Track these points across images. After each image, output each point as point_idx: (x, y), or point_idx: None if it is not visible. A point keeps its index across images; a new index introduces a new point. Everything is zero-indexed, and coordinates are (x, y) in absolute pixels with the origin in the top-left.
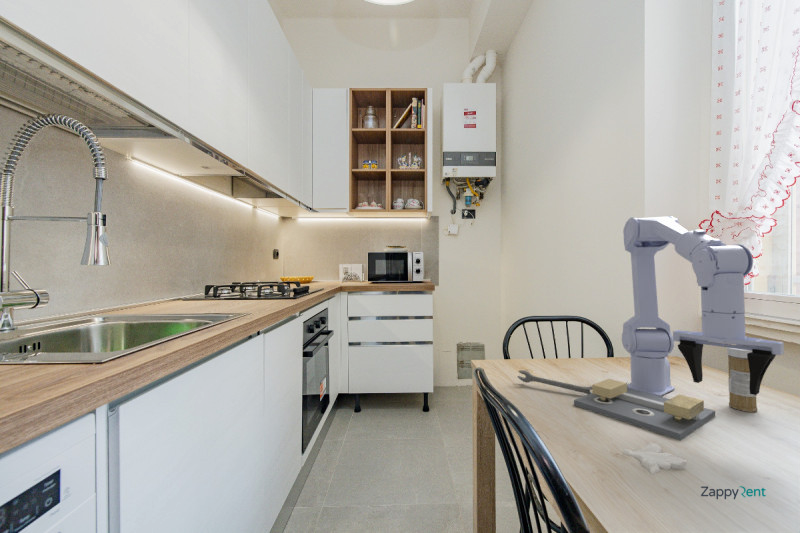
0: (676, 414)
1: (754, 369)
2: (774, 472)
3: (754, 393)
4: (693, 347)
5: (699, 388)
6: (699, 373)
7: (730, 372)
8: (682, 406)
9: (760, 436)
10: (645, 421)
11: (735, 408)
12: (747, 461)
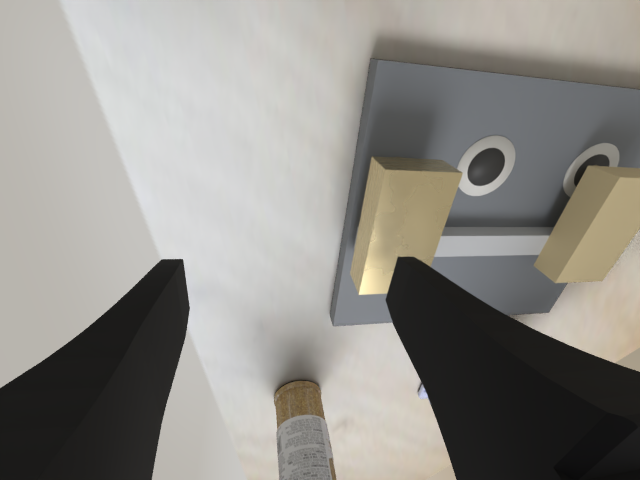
0: (409, 160)
1: (75, 372)
2: (117, 24)
3: (161, 262)
4: (585, 450)
5: (378, 427)
6: (411, 309)
7: (331, 476)
8: (406, 179)
9: (230, 274)
10: (479, 85)
11: (306, 381)
12: (194, 52)
